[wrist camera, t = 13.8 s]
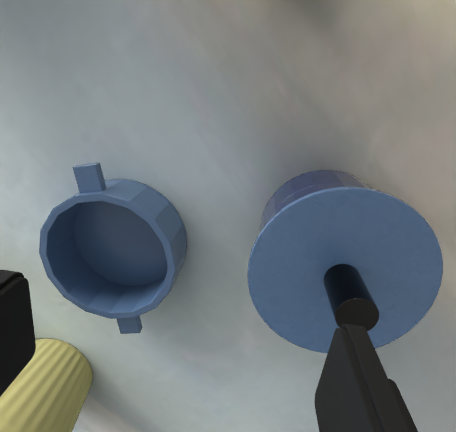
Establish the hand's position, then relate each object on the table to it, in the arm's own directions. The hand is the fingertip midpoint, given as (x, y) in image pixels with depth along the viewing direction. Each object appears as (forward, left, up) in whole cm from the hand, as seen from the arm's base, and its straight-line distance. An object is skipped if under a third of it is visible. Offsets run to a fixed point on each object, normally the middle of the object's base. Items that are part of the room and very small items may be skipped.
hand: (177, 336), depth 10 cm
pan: (+8, -15, -28) cm, 33 cm away
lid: (+9, +8, -18) cm, 22 cm away
